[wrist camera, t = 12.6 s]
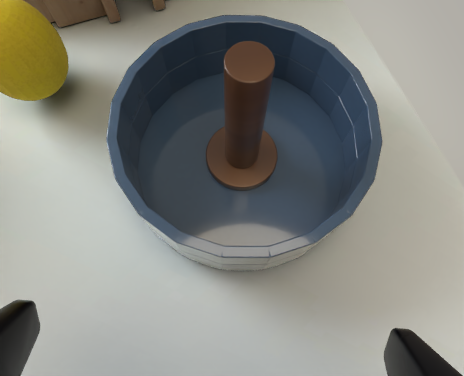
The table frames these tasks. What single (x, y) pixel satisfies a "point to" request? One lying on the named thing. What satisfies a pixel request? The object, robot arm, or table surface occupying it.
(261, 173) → the brown wooden peg
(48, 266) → the table surface
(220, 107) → the bowl
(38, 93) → the lemon
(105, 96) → the table surface
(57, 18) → the wooden puzzle
